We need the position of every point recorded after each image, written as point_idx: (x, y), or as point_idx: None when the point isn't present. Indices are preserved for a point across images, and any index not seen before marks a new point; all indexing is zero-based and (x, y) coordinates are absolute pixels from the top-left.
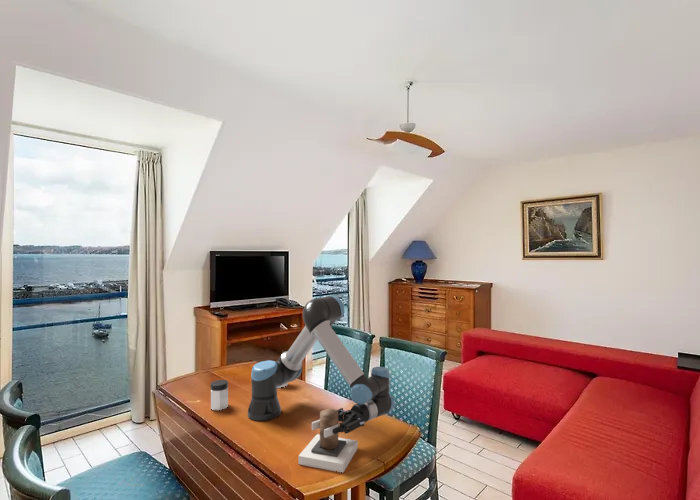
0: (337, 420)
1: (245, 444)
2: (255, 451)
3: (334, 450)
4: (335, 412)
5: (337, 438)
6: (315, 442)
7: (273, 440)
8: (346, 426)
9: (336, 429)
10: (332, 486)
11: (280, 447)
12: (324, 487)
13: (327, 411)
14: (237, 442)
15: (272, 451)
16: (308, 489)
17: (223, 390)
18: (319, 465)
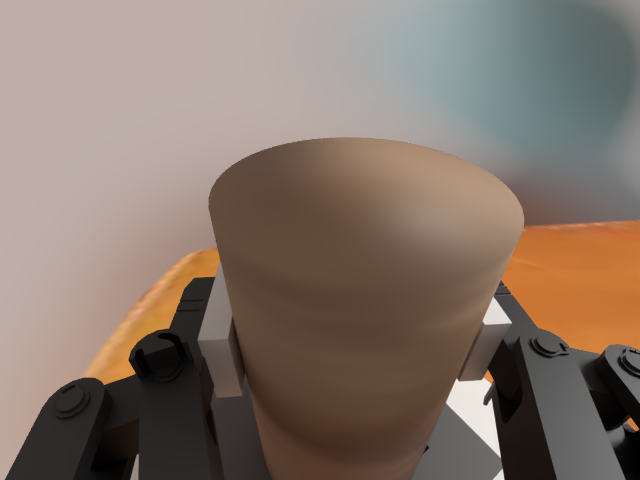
0: (232, 308)
1: (583, 235)
2: (519, 240)
3: (247, 416)
4: (307, 236)
5: (261, 439)
6: (462, 400)
7: (619, 307)
8: (59, 399)
9: (183, 298)
10: (125, 322)
11: (535, 304)
12: (153, 299)
13: (424, 190)
14: (603, 226)
15: (504, 273)
16: (198, 263)
17: None
18: None
